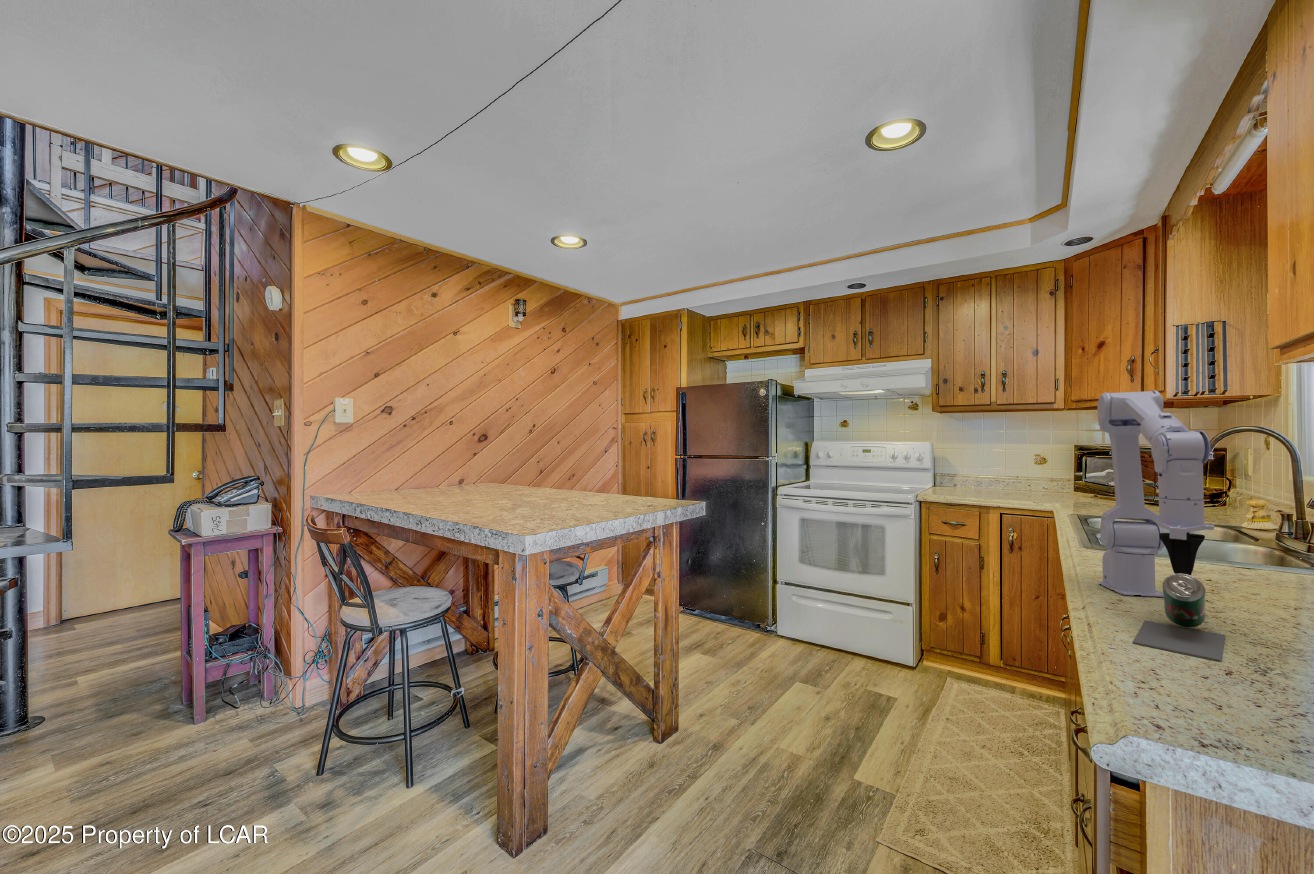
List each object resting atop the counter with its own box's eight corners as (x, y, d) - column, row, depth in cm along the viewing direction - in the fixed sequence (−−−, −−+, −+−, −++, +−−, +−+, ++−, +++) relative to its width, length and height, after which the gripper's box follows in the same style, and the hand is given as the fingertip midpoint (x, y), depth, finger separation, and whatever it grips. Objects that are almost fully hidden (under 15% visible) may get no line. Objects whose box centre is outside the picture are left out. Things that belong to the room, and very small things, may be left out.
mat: (1145, 621, 96) (1145, 620, 96) (1225, 636, 89) (1225, 634, 89) (1132, 643, 86) (1132, 641, 86) (1221, 661, 79) (1221, 660, 79)
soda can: (1186, 597, 95) (1185, 566, 89) (1213, 621, 91) (1214, 590, 85) (1157, 609, 97) (1153, 579, 90) (1182, 633, 93) (1180, 604, 86)
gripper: (1211, 503, 86) (1213, 586, 86) (1215, 496, 95) (1217, 571, 95) (1152, 500, 91) (1154, 578, 91) (1161, 494, 101) (1163, 564, 100)
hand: (1182, 574), depth 93 cm, fingers closed
